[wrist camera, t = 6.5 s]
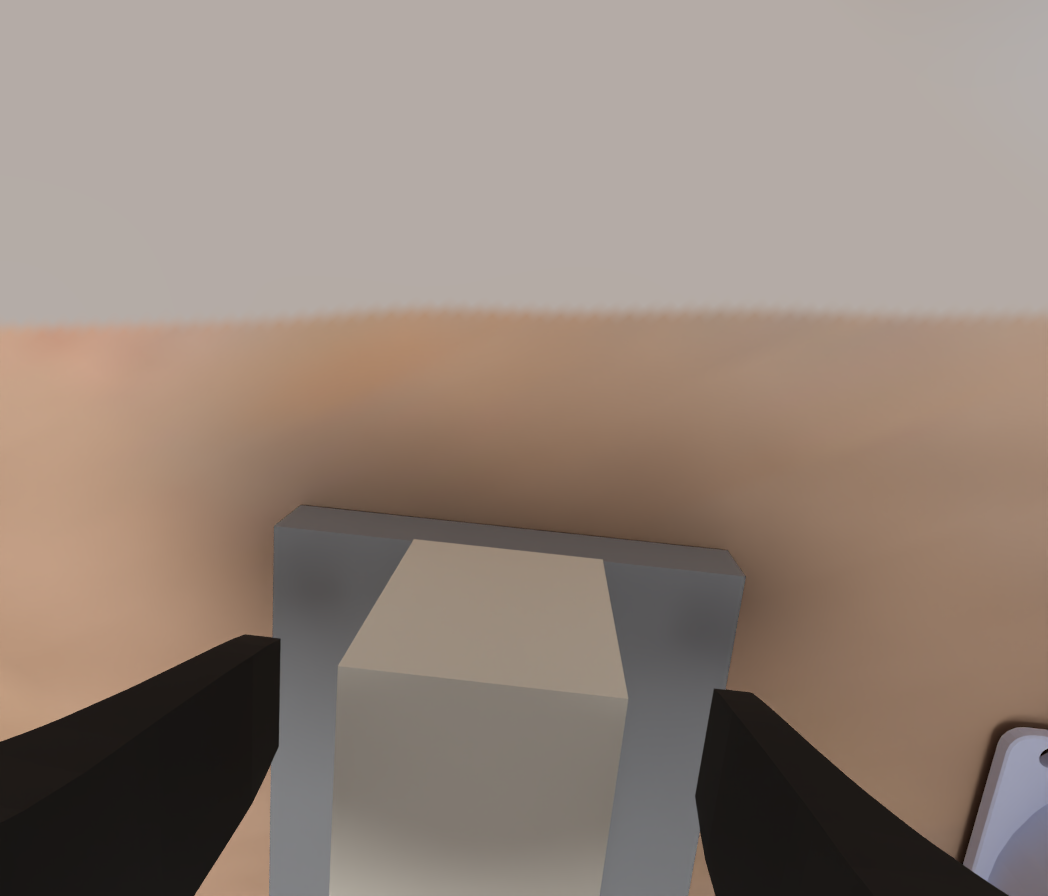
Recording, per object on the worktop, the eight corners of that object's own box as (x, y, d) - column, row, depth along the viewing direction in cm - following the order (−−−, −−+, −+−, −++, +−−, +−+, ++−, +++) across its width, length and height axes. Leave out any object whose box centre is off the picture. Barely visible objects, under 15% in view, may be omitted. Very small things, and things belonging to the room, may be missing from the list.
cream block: (602, 559, 14) (628, 698, 9) (547, 976, 16) (544, 1266, 11) (414, 538, 14) (337, 666, 9) (387, 957, 16) (316, 1235, 11)
